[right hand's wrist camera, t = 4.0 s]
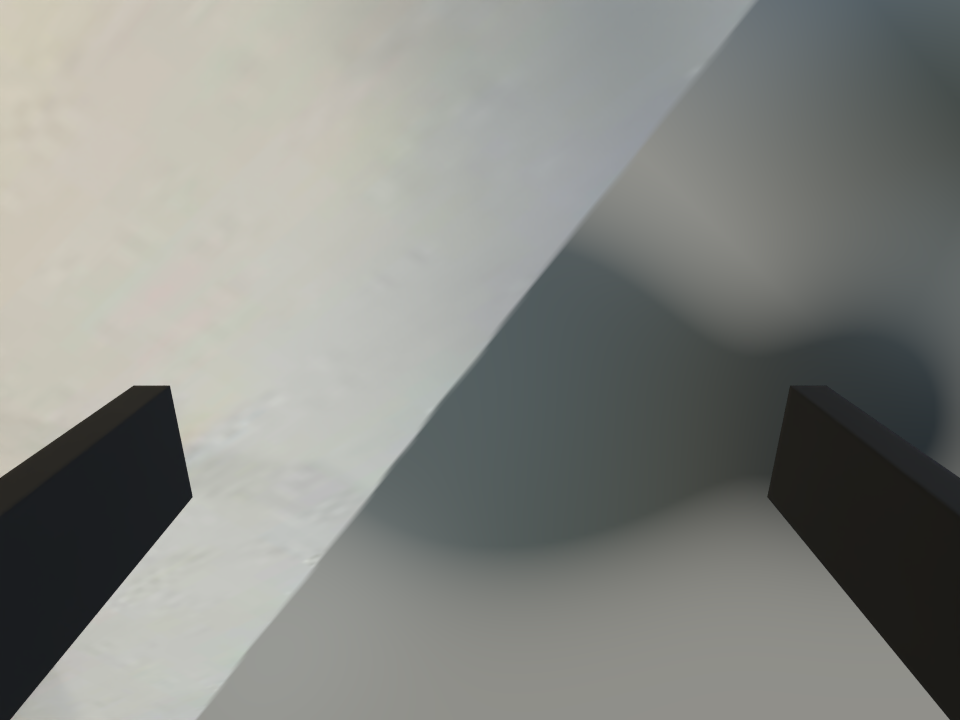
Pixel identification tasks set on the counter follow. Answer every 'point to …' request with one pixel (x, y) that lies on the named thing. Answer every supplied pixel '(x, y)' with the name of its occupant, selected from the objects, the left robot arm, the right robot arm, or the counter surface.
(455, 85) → the counter surface
